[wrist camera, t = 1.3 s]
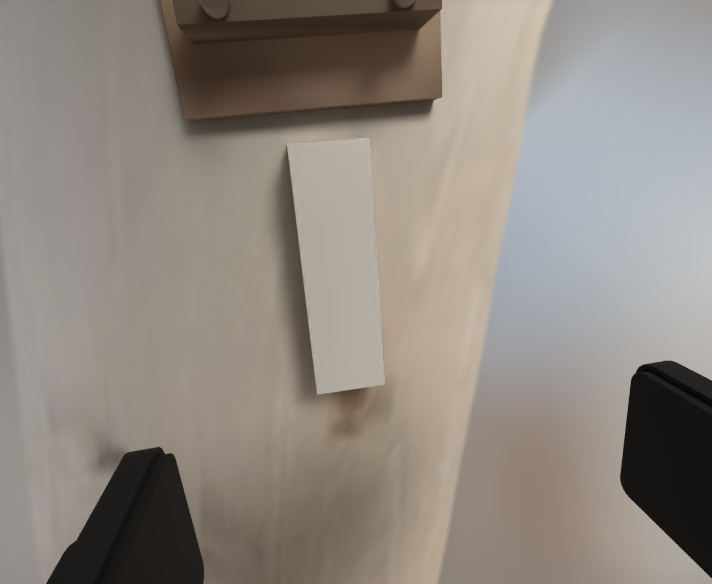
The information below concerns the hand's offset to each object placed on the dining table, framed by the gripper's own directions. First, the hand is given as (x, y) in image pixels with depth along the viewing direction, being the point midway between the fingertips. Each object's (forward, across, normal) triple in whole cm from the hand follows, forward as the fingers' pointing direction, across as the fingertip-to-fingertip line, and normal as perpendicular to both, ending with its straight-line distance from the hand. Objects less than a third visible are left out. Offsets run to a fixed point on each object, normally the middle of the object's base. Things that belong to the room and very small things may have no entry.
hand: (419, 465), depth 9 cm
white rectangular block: (+16, 0, -1) cm, 16 cm away
